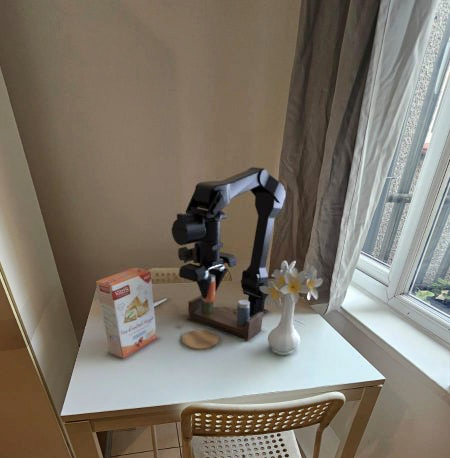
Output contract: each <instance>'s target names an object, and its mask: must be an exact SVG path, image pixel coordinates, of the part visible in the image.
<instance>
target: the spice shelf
mask: <svg viewBox="0 0 450 458" xmlns="http://www.w3.org/2000/svg"><path fill="white" fill-rule="evenodd" d="M187 302H188V320H189V321H191V322H194V323H197V324H200V325H203V326H206V327H207V328H210V329H213V330H216V331H219V332H221V333H225V334H227V335H229V336H233V337H236V338H238V339H241V340H243V341H247V342H249V341H250V340H251V339H253V338H254V337H255V336H257V335H258V334H260V333H261V332H262V325H263V316H264V314H263V313H262V312H259V313H257V314H255V315H254V316H252V315H251V317H249V319H248V320H246V326H240V325H238V324H237V313H234V312H230V311H228V310H224V309H220V308H218V307H214V306H213V312H212V313H209V314H206V313H203V312H202V309H201V295H198V296H197V297H195V298H192V299H190V300H188V301H187Z"/></svg>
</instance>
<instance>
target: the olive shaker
mask: <svg viewBox="0 0 450 458" xmlns="http://www.w3.org/2000/svg"><path fill="white" fill-rule="evenodd" d="M200 296H201V309H202V312H203V313H206V314H209V313H212V312H213V307H214V302H204V301H203V300H202V295H201V294H200Z"/></svg>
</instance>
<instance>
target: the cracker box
mask: <svg viewBox="0 0 450 458" xmlns="http://www.w3.org/2000/svg"><path fill="white" fill-rule="evenodd" d="M95 283H96V284H95V285H96V289H97V294H98V300H99V304H100V310H101V314H102V320H103V326H104V331H105V337H106V341H107V346H108V352H109V353H110V354H111V355H114V356H116V357H119V358H120V359H125V358H127V357H129V356H130V355H132V354H134V353H135V352H137V351H139V350H140V349H142V348H144V347H145V346H147V345H148V344H150V343H152V342H154V341H156V340H157V339H158V338H157V328H156V317H155V307H154V304H153V303H154V296H153V295H154V294H153V284H152V273H151V271H150V270H147V269H144V268H140V267H137V266H136V267H133V268H129V269H126V270H124V271H121V272H118V273H115V274H113V275H109V276H107V277H103V278H101V279H98V280H96V281H95Z"/></svg>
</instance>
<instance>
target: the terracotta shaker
mask: <svg viewBox="0 0 450 458" xmlns="http://www.w3.org/2000/svg"><path fill="white" fill-rule="evenodd" d="M208 276H211V277H212V279H211V283H210V287H209V291H208V294H207V297H206V298H203V297H202V300H203V301H204V302H213V303H214V302H215V301H216V293H217V291H216V280H215V275H212V274H209V273H208ZM215 292H216V293H215Z"/></svg>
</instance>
